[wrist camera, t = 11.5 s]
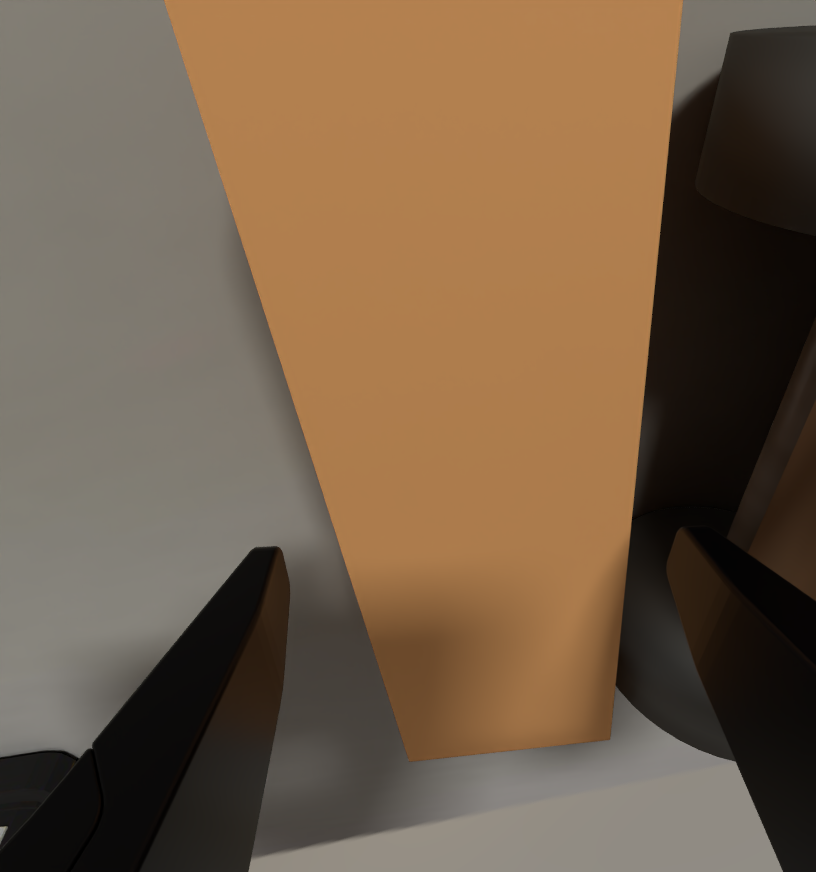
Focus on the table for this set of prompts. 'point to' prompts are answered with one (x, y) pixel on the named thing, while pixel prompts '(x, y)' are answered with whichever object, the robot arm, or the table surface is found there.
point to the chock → (459, 320)
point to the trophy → (27, 787)
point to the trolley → (801, 405)
